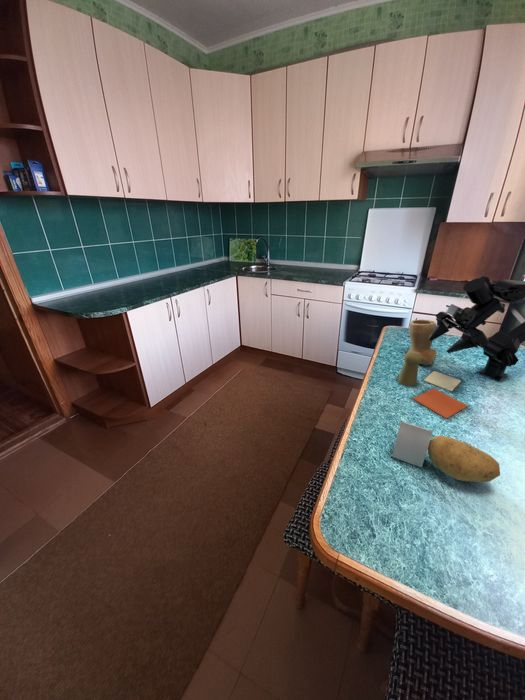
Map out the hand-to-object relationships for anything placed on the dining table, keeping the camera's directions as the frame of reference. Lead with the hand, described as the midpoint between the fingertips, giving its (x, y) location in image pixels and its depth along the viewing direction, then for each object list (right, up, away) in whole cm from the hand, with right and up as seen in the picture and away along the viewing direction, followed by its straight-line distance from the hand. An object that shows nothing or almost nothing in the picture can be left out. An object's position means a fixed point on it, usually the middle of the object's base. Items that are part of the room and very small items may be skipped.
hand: (438, 345), depth 97 cm
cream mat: (+5, -12, +5) cm, 14 cm away
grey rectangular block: (-23, -28, -24) cm, 44 cm away
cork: (-8, -13, +6) cm, 16 cm away
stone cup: (+5, -4, +21) cm, 22 cm away
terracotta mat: (-3, -18, -6) cm, 19 cm away
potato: (-13, -30, -29) cm, 44 cm away
